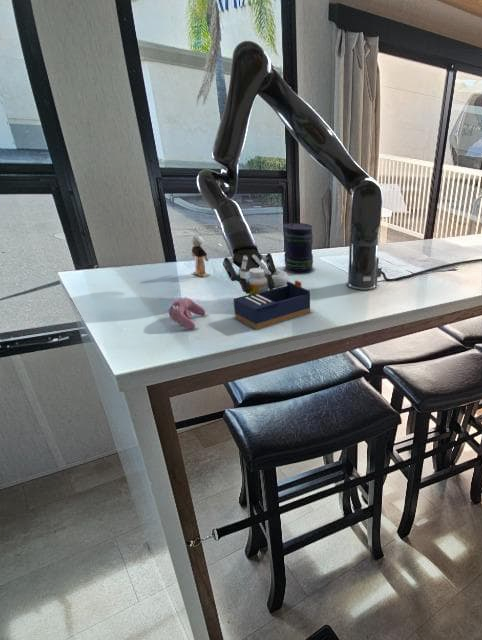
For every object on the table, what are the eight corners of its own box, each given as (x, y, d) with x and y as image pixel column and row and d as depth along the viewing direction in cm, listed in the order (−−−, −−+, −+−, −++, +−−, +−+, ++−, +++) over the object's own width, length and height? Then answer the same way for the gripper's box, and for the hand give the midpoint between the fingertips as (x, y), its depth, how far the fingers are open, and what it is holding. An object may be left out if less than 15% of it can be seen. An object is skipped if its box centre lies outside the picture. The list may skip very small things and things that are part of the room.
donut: (251, 284, 133) (280, 289, 132) (250, 274, 132) (279, 278, 130) (265, 276, 142) (293, 280, 141) (265, 265, 140) (293, 270, 139)
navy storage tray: (289, 303, 124) (288, 276, 120) (310, 312, 120) (310, 285, 115) (235, 318, 111) (232, 289, 107) (256, 329, 107) (253, 300, 103)
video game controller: (193, 319, 112) (176, 296, 108) (208, 313, 111) (191, 289, 107) (179, 335, 103) (161, 310, 100) (195, 328, 103) (177, 303, 99)
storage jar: (318, 269, 153) (318, 227, 145) (299, 275, 145) (298, 230, 138) (298, 263, 157) (297, 221, 149) (278, 268, 150) (276, 224, 142)
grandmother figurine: (188, 274, 135) (181, 233, 129) (197, 271, 139) (191, 231, 132) (206, 279, 133) (201, 238, 127) (215, 276, 136) (210, 236, 130)
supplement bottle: (245, 302, 121) (242, 268, 116) (262, 298, 125) (259, 266, 120) (255, 308, 118) (252, 274, 113) (272, 304, 122) (270, 271, 117)
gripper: (215, 231, 112) (238, 288, 111) (265, 228, 120) (288, 281, 120) (210, 246, 118) (232, 300, 117) (258, 242, 126) (279, 292, 125)
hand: (260, 290), depth 118 cm, fingers open, 6 cm apart
